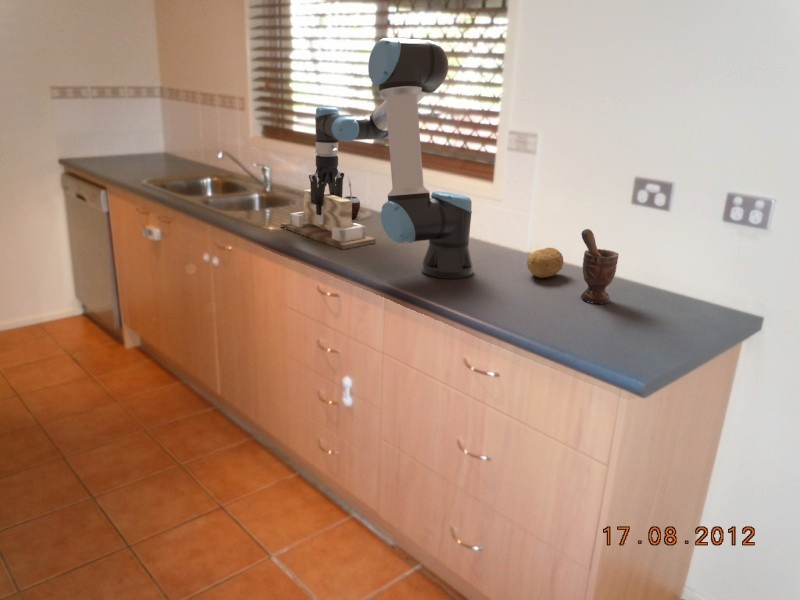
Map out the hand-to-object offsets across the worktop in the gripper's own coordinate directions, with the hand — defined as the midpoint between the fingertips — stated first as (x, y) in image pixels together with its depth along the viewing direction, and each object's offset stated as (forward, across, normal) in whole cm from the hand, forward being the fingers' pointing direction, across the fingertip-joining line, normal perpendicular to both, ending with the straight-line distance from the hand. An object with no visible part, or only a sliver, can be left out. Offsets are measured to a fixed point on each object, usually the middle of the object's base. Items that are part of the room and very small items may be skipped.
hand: (326, 223), depth 230 cm
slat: (+1, 0, 0) cm, 1 cm away
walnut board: (+4, 0, 0) cm, 4 cm away
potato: (+4, +23, -75) cm, 78 cm away
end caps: (+3, 0, 0) cm, 3 cm away
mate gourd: (+5, +24, +17) cm, 30 cm away
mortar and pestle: (+4, +16, -96) cm, 97 cm away
